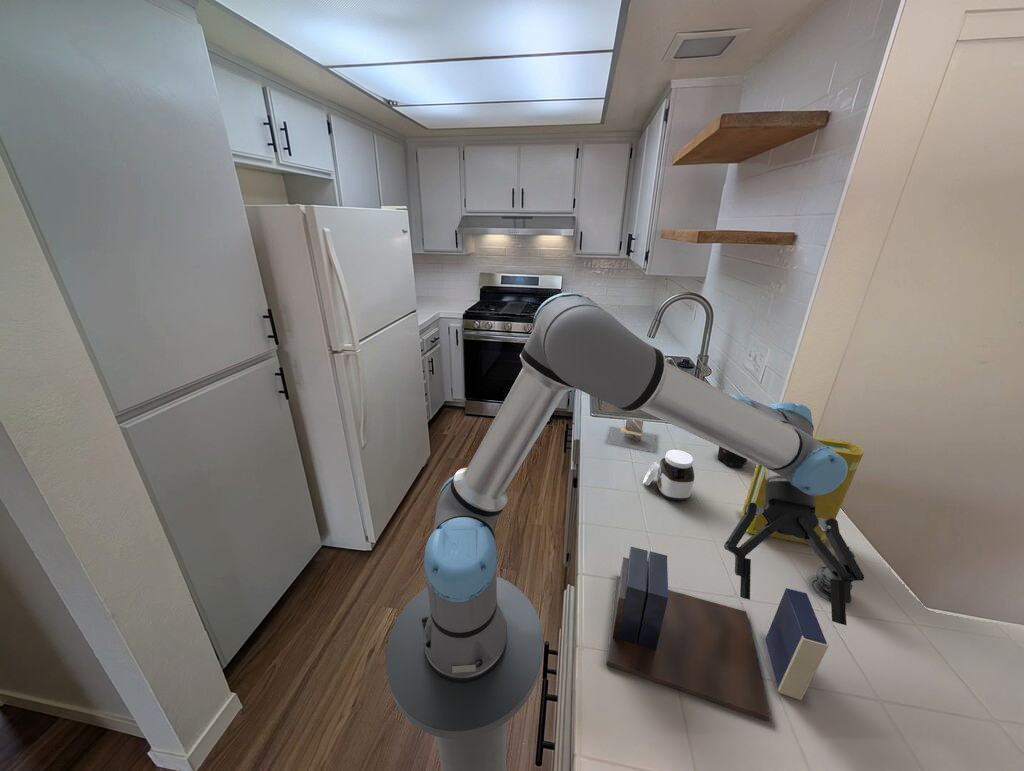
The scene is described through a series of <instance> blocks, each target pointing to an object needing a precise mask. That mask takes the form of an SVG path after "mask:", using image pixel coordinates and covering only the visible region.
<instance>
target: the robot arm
mask: <svg viewBox="0 0 1024 771" xmlns="http://www.w3.org/2000/svg"><path fill="white" fill-rule="evenodd" d="M531 328H532V331H531V333H530V335H529V337H528V339H527V340H526V342H525V344H524V346H523V348H522V350H521V352H520V354H519V358H520V361H521V364H522V368H521V370H520V372H519V374H518V375H517V377H516V379H515V381H514V383H513V384H512V386H511V388H510V391H509V392H508V394H507V396H506V397H505V398H504V401H503V403H502V405H501V406H500V408H499V410H498V412H497V414H496V416H495V417H494V419H493V421H492V422H491V424H490V426H489V428H488V430H487V432H486V433H485V435H484V437H483V439H482V440H481V442H480V444H479V446H478V448H477V449H476V452H475V454H474V455H473V457H472V459H471V461H470V462H469V464H468V466H467V467H463V468H460V469H458V470H457V471H456V472H455V474H454V475H453V476H451V477H450V478H448V479H447V480H446V481H445V482H444V484H443V485H442V487H441V489H440V490H439V492H438V496H437V499H436V505H435V518H434V524H433V531H432V533H431V534H430V536H429V538H428V540H427V541H426V545H425V550H424V557H423V569H424V576H425V577H426V587H427V586H428V595H429V603H430V611H431V612H430V615H429V617H426V618H423V619H422V623H424V622H427V623H426V626H425V630H424V636H423V643H424V651H425V656H426V659H427V661H428V664H429V665H430V667H431V668H432V669H433V671H434V672H435V673H436V674H438V675H439V676H440V677H442V678H444V679H446V680H449V681H452V682H459V683H464V682H470V681H474V680H477V679H479V678H482V677H483V676H485V675H487V674H488V673H489V672H490V671H492V670H493V669H494V668H495V667H496V665H497V664H498V663H499V661H500V660H501V658H502V656H503V654H504V652H505V649H506V644H507V623H506V619H505V616H504V614H503V612H502V610H501V609H500V607H499V605H498V603H497V577H498V576H497V565H498V549H497V547H498V546H497V545H496V533H495V525H496V523H497V520H498V518H500V515H501V514H502V512H503V511H504V509H505V507H507V504H508V500H509V497H508V493H507V489H508V487H509V486H510V484H511V483H512V481H513V479H514V477H515V476H516V474H517V472H518V471H519V469H520V468H521V466H522V464H523V463H524V461H525V459H526V458H527V456H528V455H529V453H530V451H531V450H532V448H533V447H534V444H535V443H536V442H537V440H538V438H539V436H540V435H541V433H542V432H543V430H544V428H545V426H546V425H547V423H548V422H549V420H550V418H551V417H552V415H553V414H554V412H555V410H556V409H557V407H558V405H559V404H560V402H561V401H562V399H563V397H564V396H565V394H566V392H570V391H575V390H579V391H581V392H583V393H585V394H587V395H589V396H592V397H594V398H595V399H598V400H600V401H602V402H605V403H607V404H609V405H612V406H614V407H617V408H618V409H620V410H622V411H625V412H627V413H634V412H637V411H642V412H644V413H646V414H649V415H650V416H652V417H655V418H657V419H660V420H662V421H664V422H666V423H667V424H671V425H672V426H675V427H677V428H679V429H681V430H684V431H685V432H688V433H690V434H692V435H694V436H696V437H699V438H701V439H703V440H705V441H707V442H710V443H712V444H713V445H715V446H718V447H719V446H720V447H722V448H724V449H726V450H729V451H731V452H733V453H735V454H737V455H739V456H741V457H744V458H746V459H747V461H750V462H752V463H754V464H756V465H757V464H759V465H761V466H763V467H765V479H766V480H767V481H769V482H767V483H766V484H765V506H764V507H761V506H758V505H756V504H755V503H753V502H752V503H748V504H746V506H745V511H744V515H743V517H742V516H741V519H740V520H739V522H738V523H737V525H736V526H735V527H734V529H733V530H732V532H731V534H730V535H729V537H728V539H727V540H726V541H725V543H724V546H723V548H724V549H725V551H728V552H730V553H731V554H733V555H734V574H735V575H736V576H737V577H740V585H739V586H740V588H739V591H740V593H739V597H740V598H741V599H745V600H749V601H751V572H752V571H751V569H752V568H751V565H752V561H751V560H752V559H751V558H748V557H746V556H747V555H749V554H750V553H752V551H753V550H754V549H756V548H757V547H758V546H759V545H760V544H761V543H763V542H764V541H765V540H766V539H767V538H769V537H771V536H770V535H771V534H772V533H774V532H776V533H777V534H778V535H788V536H790V537H792V538H797V539H800V538H803V539H804V541H805V542H806V543H808V544H807V545H808V546H809V547H810V548H811V549H812V550H813V551H814V553H815V554H816V555H817V556H818V558H819V559H820V560H821V562H822V563H823V564H824V565H825V566H826V567H827V568H828V569H829V570H830V571H831V572H832V574H833V575H834V576H835V577H836V579H837V580H835V579H830V586H831V601H830V606H831V622H834V623H836V624H840V625H843V626H847V612H846V611H847V610H846V604H851V602H852V590H851V588H850V584H851V583H853V582H858V581H860V582H861V581H864V580H865V575H864V573H863V571H862V569H861V567H860V566H859V564H858V562H857V561H856V559H855V558H854V557H853V555H852V554H851V552H850V551H851V549H850V550H849V548H850V547H849V548H848V545H847V543H846V542H845V540H844V538H843V536H842V534H841V532H840V528H839V527H840V526H839V522H838V519H834V518H830V519H822V518H817V516H816V514H815V496H819V495H824V494H827V493H830V492H832V491H833V490H835V489H836V488H838V486H839V485H840V484H841V483H842V482H843V481H844V480H845V478H846V476H847V473H848V465H847V463H846V461H845V459H844V458H843V457H841V456H840V455H839V454H837V453H836V452H834V451H833V450H832V448H830V447H828V446H825V445H824V444H822V443H821V442H819V441H818V440H816V439H815V438H813V437H814V431H815V430H814V429H815V427H814V423H813V415H812V411H811V409H810V408H809V407H808V406H806V405H804V404H802V403H793V402H791V401H789V402H788V401H784V402H783V401H782V402H781V401H780V402H775V403H772V404H770V405H765V404H763V403H761V402H758V401H756V400H754V399H752V398H750V397H748V396H742V395H739V394H735V393H732V394H728V393H727V392H725V391H723V390H721V389H720V388H717V387H715V386H714V385H712V384H709V383H708V382H705V381H704V380H702V379H700V378H698V377H696V376H695V375H692V374H690V373H689V372H686V371H684V370H683V369H681V368H678V367H676V366H674V365H673V364H671V363H669V362H667V360H666V356H665V354H664V352H662V350H660V349H658V348H656V347H655V346H653V345H651V344H649V343H648V342H645V341H644V340H642V339H641V338H640V337H638V336H637V335H636V334H634V333H633V332H632V331H631V330H629V329H628V328H627V327H626V326H625V325H624V324H622V322H620V320H618V319H617V318H616V317H615V316H614V315H612V314H611V313H610V312H608V311H607V310H605V309H604V308H602V306H600V305H598V303H597V302H595V301H593V300H592V299H591V298H589V297H587V296H584V295H583V294H579V293H574V292H562V293H558V294H555V295H552V296H551V297H549V298H547V299H546V300H545V301H543V303H541V304H540V306H539V307H538V309H537V310H536V311H535V314H534V317H533V320H532V327H531ZM760 513H762V514H763V516H764V517H765V519H766V520H767V522H768V523H766V524H765V525H764V526H763V527H762V528H761V529H760V530H759V531H758V532H757V533H755V534H752V536H750V537H749V538H748V539H747V540H746V541H744V543H742V544H741V545H740V546H739V547H738V545H739V543H740V541H741V540H742V538H743V537H744V535H745V534H746V533H747V532H746V531H747V529H748V527H749V526H750V524H751V523H752V521H753V520H754V518H755V517H757V516H759V514H760ZM817 525H819V526H820V527H821V529H822V530H823V531H824V532H825V535H826V537H827V541H828V542H829V544H830V546H831V548H832V549H833V551H834V553H836V555H837V557H838V559H839V561H840V562H841V564H842V565H841V564H840V563H839V562H838V560H837V559H836V558H835V557H834V553H832V552H831V550H830V549H829V548H828V547H827V545H826V544H824V543H823V542H822V541H821V538H820V537H819V536H818V534H817V533H816V532H815V531H814V530H813V529H814V528H815V527H816V526H817Z"/></svg>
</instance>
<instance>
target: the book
mask: <svg viewBox="0 0 1024 771" xmlns="http://www.w3.org/2000/svg"><path fill="white" fill-rule="evenodd" d="M813 438H815V439H816V440H818V441H819V442H821V443H822V444H824V445H825V446H828V447H830V448H832V450H833V451H834V452H836V453H837V454H839V455H840V456H841V457H843V458H844V459H845V461H846V463H847V465H848V473H847V476H846V478H845V480H844V481H843V482H842V483H841V484H840V485H839V486H838V488H836V489H835V490H833V491H832V492H830V493H827V494H824V495H819V496H815V514H816V516H817V518H822V519H830V518H834V519H836V518H837V516H838V514H839V511H840V509H841V507H842V505H843V502H844V500H845V498H846V495H847V493H848V491H849V488H850V486H851V483H852V481H853V479H854V476H855V474H856V472H857V470H858V468H859V465H860V463H861V460H862V458H863V456H864V454H865V452H864V449H863V448H862V447H860V446H858V445H856V443H855V444H854V443H852V442H850V441H845V440H840V439H834V438H827V437H826V438H825V437H820V436H819V437H818V436H813ZM767 482H769V481H767V480H766V479H765V467H763V466H761V465H759V464H757V463H756V466H755V469H754V472H753V475H752V479H751V483H750V486H749V488H748V493H747V495H746V498H745V499H744V503H743V507H742V510H741V513H740V515H741V516H740V517H741V518H742V517H743V515H744V511H745V506H746V504H748V503H752V502H753V503H755V504H756V505H758V506H761V507H764V506H765V484H766V483H767ZM836 520H837V519H836ZM766 523H768V522H767V520H766V519H765V517H764V516H763V514H762V513H760V514H759V516H757V517H755V518H754V520H753V521H752V523H751V524H750V526H749V527H748V529H747V531H746V532H745V533H747V534H752V535H754V534H755V533H757V532H758V531H759V530H760V529H761V528H762V527H763V526H764V525H765V524H766ZM813 530H814V531H815V532H816V533H817V534H818V536H819V537H820V538H821V541H822V542H823V543H824V545H826V542H827V541H828V539H827V537H826V535H825V532H824V531H823V530H822V529H821V527H820V526H819V525H817V526H816V527H815V528H814V529H813ZM769 537H771V538H776V539H782V540H787V541H790V542H795V543H800V544H805V545H809V544H808V543H806V542H805V541H804V539H803V538H800V539H797V538H792V537H790V536H788V535H778V534H777V533H776V532H774V533H772V534H771V535H770V536H769Z"/></svg>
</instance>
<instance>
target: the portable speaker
mask: <svg viewBox="0 0 1024 771" xmlns="http://www.w3.org/2000/svg"><path fill="white" fill-rule="evenodd" d="M717 460H719V461H722V462H724V463H725V464H726V465H727V467H729V468H733V469H741V468H743V467H744V465H746V463H747V462H748V459H746V458H744V457H741V456H739V455H737V454H735V453H733V452H731V451H729V450H726V449H724V448H722V447H720V446H718V452H717Z"/></svg>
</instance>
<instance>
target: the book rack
mask: <svg viewBox="0 0 1024 771" xmlns="http://www.w3.org/2000/svg"><path fill="white" fill-rule="evenodd" d="M620 567H621V569H620V575H616V578H615V586H614V594H613V595H614V596H613V603H612V611H611V620H610V629H609V638H608V644H607V645H608V646H607V652H606V653H607V654H606V663H605V665H606V666H609V667H612V668H615V669H617V670H620V671H623V672H625V673H628V674H632V675H633V676H634V675H635V676H637V677H640V678H643V679H646V680H648V681H652V682H655V683H657V684H660V685H663V686H667V687H669V688H672V689H675V690H677V691H680V692H683V693H686V694H689V695H692V696H695V697H697V698H701V699H704V700H707V701H709V702H712V703H714V704H718V705H720V706H724V707H725V708H730V709H732V710H735V711H738V712H741V713H744V714H746V715H749V716H751V717H756V718H758V719H761V720H763V721H766V722H769V721H770V719H771V714H770V711H769V706H768V705H769V704H768V701H767V697H766V693H765V692H766V691H765V689H764V688H765V687H764V684H763V679H762V675H761V670H760V666H759V662H758V657H757V653H756V649H755V648H756V647H755V645H754V639H753V636H752V631H751V627H750V622H749V618H748V613H747V611H745V610H743V609H738V608H735V607H731V606H727V605H724V604H720V603H716V602H713V601H709V600H706V599H703V598H699V597H695V596H692V595H689V594H685V593H684V594H683V593H681V592H678V591H677V592H676V591H674V590H669V574H668V572H669V571H668V555H667V554H662V553H659V552H655V551H649V550H647V549H643V548H640V547H639V548H638V547H634V546H630V547H629V554H628V557H622V562H621V566H620Z"/></svg>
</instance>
